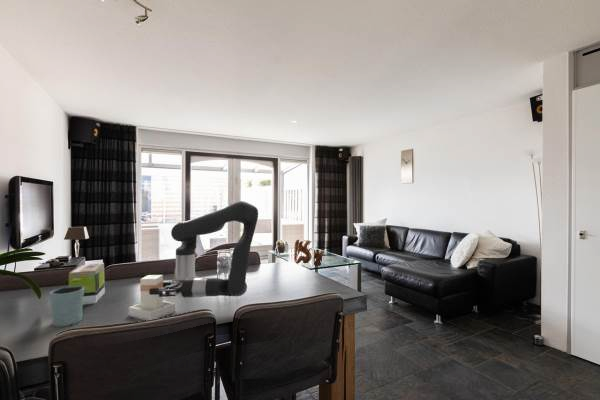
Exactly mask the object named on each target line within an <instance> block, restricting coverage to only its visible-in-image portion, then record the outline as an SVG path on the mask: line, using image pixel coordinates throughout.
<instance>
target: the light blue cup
mask: <svg viewBox="0 0 600 400" xmlns="http://www.w3.org/2000/svg"><path fill="white" fill-rule="evenodd" d="M83 295H84V287H83V286H70V287H69V286H65V287H64V286H63V287H59V288H56V289H53V290H51V291H49V296H50V297H49V298H50V304H51V314H52V324H53V325H52V326H54V327H66V326H67V327H68V326H71V324H72V325H75V324H77V323H79V322H80V321H82V319H83V307H84V305H83Z"/></svg>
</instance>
